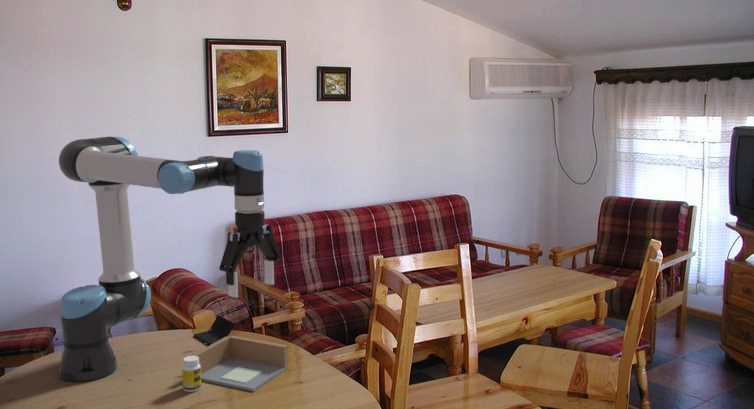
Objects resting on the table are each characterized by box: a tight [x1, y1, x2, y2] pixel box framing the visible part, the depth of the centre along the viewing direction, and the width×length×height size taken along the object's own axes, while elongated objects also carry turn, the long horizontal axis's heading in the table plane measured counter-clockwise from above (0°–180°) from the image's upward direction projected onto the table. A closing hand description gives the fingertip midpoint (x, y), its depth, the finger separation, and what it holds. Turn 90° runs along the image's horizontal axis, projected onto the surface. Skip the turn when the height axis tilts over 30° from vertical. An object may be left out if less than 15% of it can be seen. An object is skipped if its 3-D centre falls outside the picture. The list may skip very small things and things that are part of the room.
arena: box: [190, 334, 289, 393], centre depth 194 cm, size 20×17×7 cm
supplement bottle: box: [181, 355, 202, 393], centre depth 185 cm, size 5×5×8 cm
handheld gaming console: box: [193, 314, 235, 346], centre depth 222 cm, size 12×7×10 cm
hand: (251, 290), depth 184 cm, fingers open, 13 cm apart
